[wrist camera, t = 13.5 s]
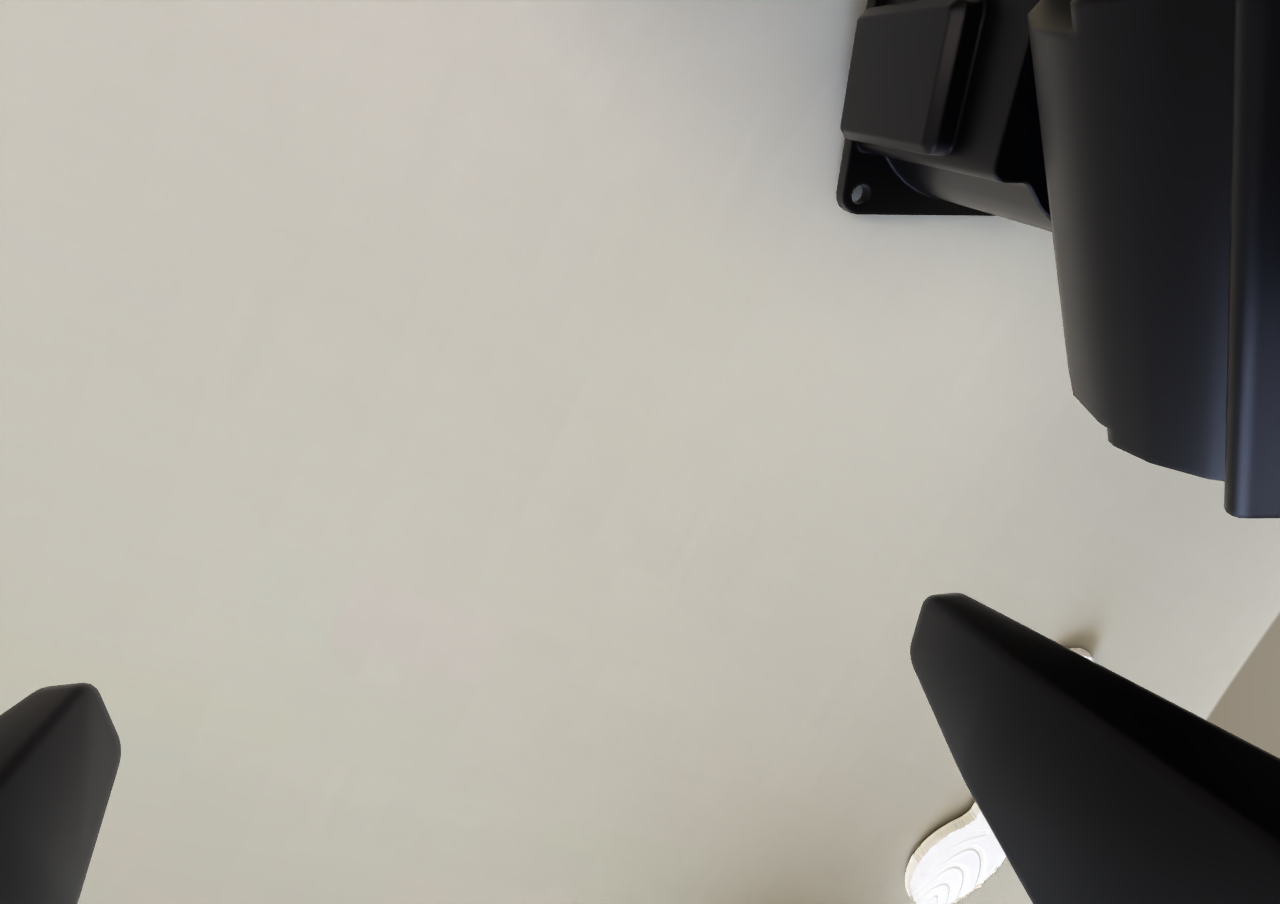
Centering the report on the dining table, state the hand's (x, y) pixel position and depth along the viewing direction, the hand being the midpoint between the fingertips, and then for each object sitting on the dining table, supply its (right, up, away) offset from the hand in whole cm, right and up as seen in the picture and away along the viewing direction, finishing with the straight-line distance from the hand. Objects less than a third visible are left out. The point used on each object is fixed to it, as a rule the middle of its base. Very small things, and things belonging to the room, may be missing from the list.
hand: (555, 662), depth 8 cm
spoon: (+18, -14, +27) cm, 35 cm away
